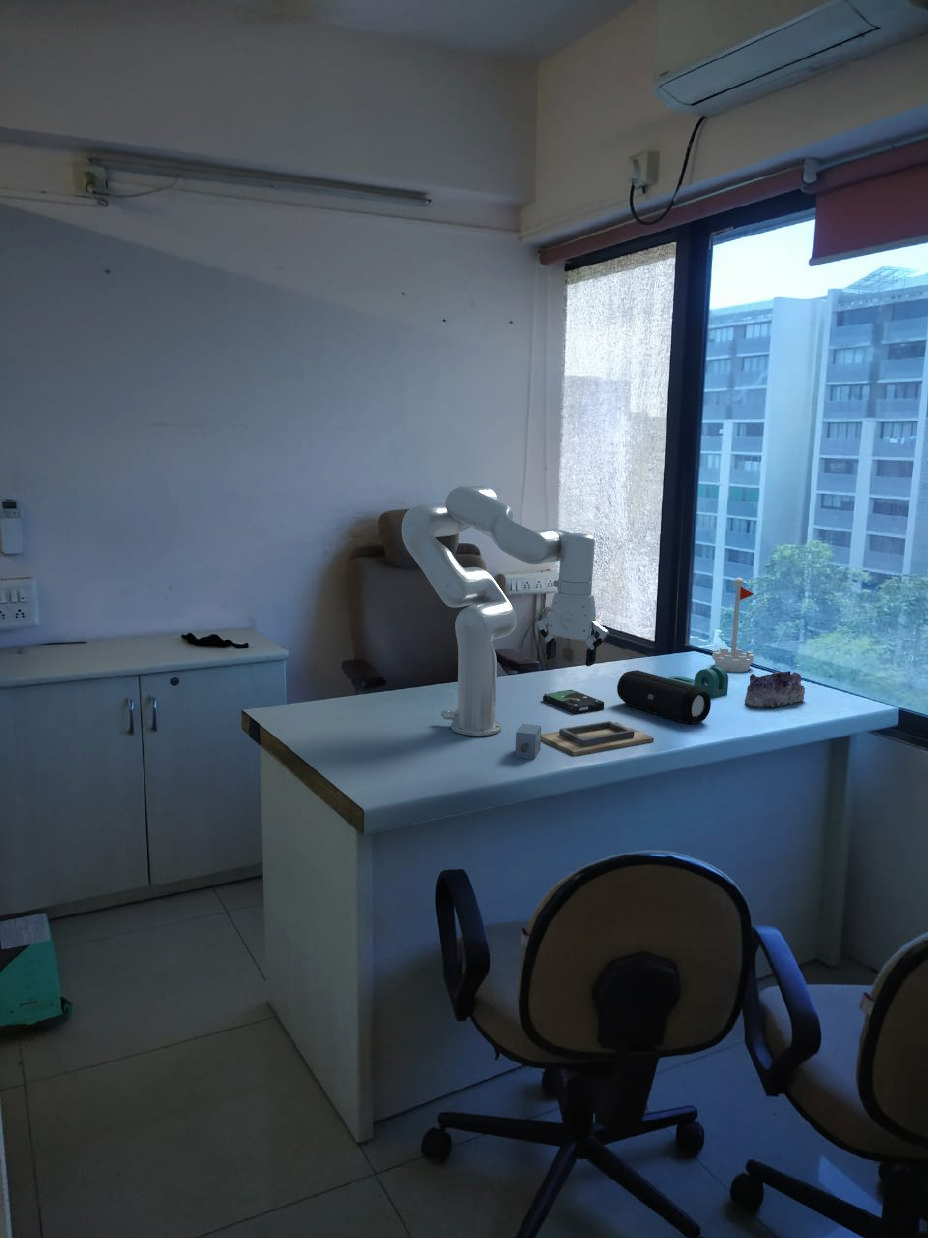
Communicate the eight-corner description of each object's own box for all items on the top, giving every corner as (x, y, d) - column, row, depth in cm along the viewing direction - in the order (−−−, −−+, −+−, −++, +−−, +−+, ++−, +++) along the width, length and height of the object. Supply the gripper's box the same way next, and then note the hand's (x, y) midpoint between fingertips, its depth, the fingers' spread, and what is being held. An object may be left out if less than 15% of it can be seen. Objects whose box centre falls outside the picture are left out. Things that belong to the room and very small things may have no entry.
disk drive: (604, 711, 250) (570, 698, 262) (605, 701, 249) (571, 688, 262) (575, 717, 244) (541, 702, 257) (575, 706, 244) (542, 693, 256)
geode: (771, 714, 250) (769, 678, 249) (735, 709, 259) (733, 675, 258) (813, 700, 262) (811, 665, 261) (777, 696, 271) (775, 663, 270)
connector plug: (513, 761, 207) (514, 735, 206) (522, 746, 217) (523, 722, 216) (532, 763, 206) (533, 737, 205) (541, 748, 216) (542, 724, 215)
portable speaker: (613, 706, 254) (615, 670, 252) (637, 700, 260) (640, 666, 258) (687, 729, 234) (690, 691, 232) (711, 722, 240) (714, 685, 238)
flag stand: (713, 671, 296) (720, 579, 290) (709, 662, 308) (716, 574, 303) (755, 674, 294) (763, 581, 288) (749, 664, 306) (757, 575, 301)
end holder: (539, 738, 223) (539, 729, 223) (616, 726, 235) (617, 716, 234) (573, 756, 211) (574, 745, 211) (653, 741, 223) (654, 731, 223)
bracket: (727, 695, 268) (729, 668, 267) (713, 698, 264) (715, 672, 262) (676, 682, 282) (678, 657, 280) (662, 685, 277) (664, 660, 276)
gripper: (533, 585, 208) (529, 659, 211) (604, 595, 199) (598, 671, 203) (547, 582, 214) (543, 653, 218) (617, 590, 206) (611, 664, 209)
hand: (570, 661), depth 210 cm, fingers open, 9 cm apart
